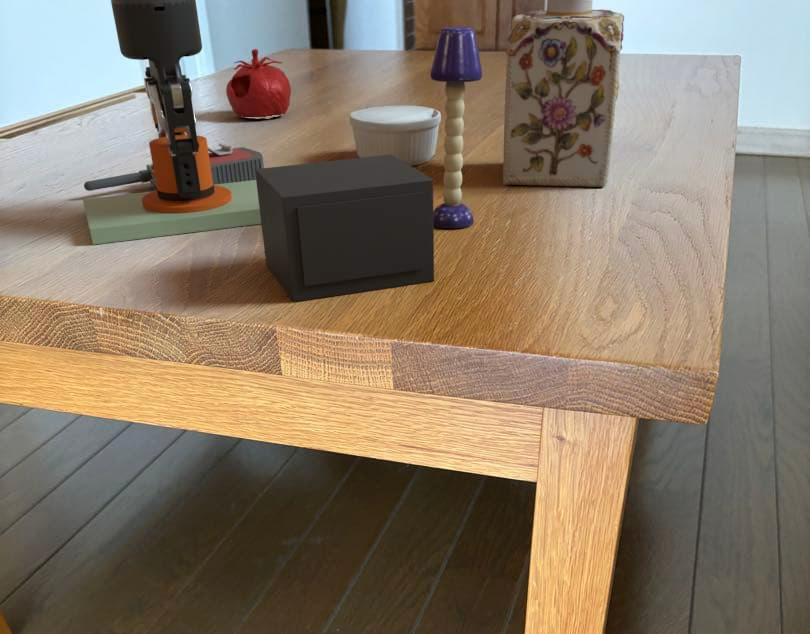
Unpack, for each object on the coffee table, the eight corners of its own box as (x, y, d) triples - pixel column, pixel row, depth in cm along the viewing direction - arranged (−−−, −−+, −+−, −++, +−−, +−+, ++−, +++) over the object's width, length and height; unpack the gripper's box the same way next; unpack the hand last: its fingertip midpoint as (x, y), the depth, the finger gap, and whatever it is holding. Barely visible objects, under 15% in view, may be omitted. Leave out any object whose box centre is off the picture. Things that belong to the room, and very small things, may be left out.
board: (92, 245, 84) (89, 229, 83) (85, 213, 93) (82, 199, 92) (296, 219, 89) (295, 204, 88) (271, 192, 99) (269, 178, 98)
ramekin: (433, 170, 105) (433, 122, 102) (342, 169, 107) (339, 121, 104) (447, 150, 114) (447, 105, 111) (362, 149, 116) (360, 105, 113)
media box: (293, 303, 70) (282, 197, 65) (266, 265, 78) (254, 169, 73) (435, 281, 73) (434, 180, 68) (394, 247, 81) (391, 154, 76)
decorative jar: (611, 163, 105) (628, -15, 95) (608, 188, 96) (628, -6, 85) (510, 162, 107) (517, -13, 97) (499, 186, 98) (505, -4, 87)
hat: (148, 217, 86) (135, 154, 82) (138, 196, 93) (127, 136, 89) (239, 206, 88) (231, 144, 85) (223, 186, 95) (215, 128, 92)
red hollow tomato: (286, 108, 142) (280, 43, 137) (299, 119, 135) (293, 49, 129) (225, 114, 140) (216, 47, 135) (235, 124, 132) (226, 54, 127)
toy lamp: (443, 214, 89) (442, 24, 80) (486, 218, 88) (491, 25, 78) (423, 227, 86) (420, 30, 76) (467, 231, 84) (470, 30, 74)
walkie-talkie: (241, 168, 109) (83, 197, 99) (236, 129, 106) (74, 155, 96) (277, 180, 103) (114, 213, 93) (273, 140, 100) (104, 169, 91)
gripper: (104, -6, 85) (140, 177, 94) (117, 4, 74) (155, 210, 83) (183, -10, 87) (210, 169, 96) (206, -2, 75) (234, 201, 85)
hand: (184, 187), depth 90 cm, fingers open, 6 cm apart
